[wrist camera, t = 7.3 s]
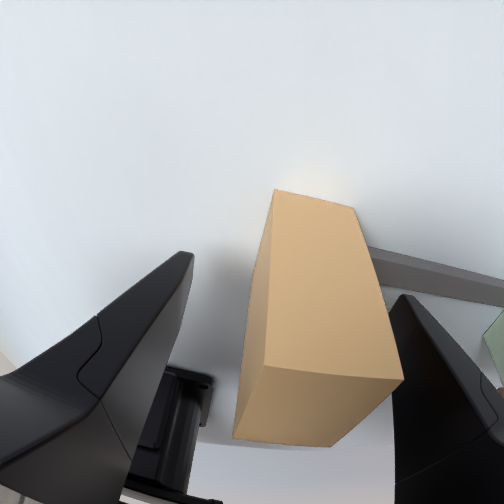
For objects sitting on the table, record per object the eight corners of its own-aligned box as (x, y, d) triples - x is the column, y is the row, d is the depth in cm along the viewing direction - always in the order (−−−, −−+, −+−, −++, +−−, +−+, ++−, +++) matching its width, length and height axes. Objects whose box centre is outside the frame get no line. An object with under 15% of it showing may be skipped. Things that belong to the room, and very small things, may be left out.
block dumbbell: (538, 340, 13) (570, 418, 8) (245, 300, 12) (225, 452, 8) (593, 265, 10) (642, 344, 5) (284, 150, 9) (286, 311, 4)
